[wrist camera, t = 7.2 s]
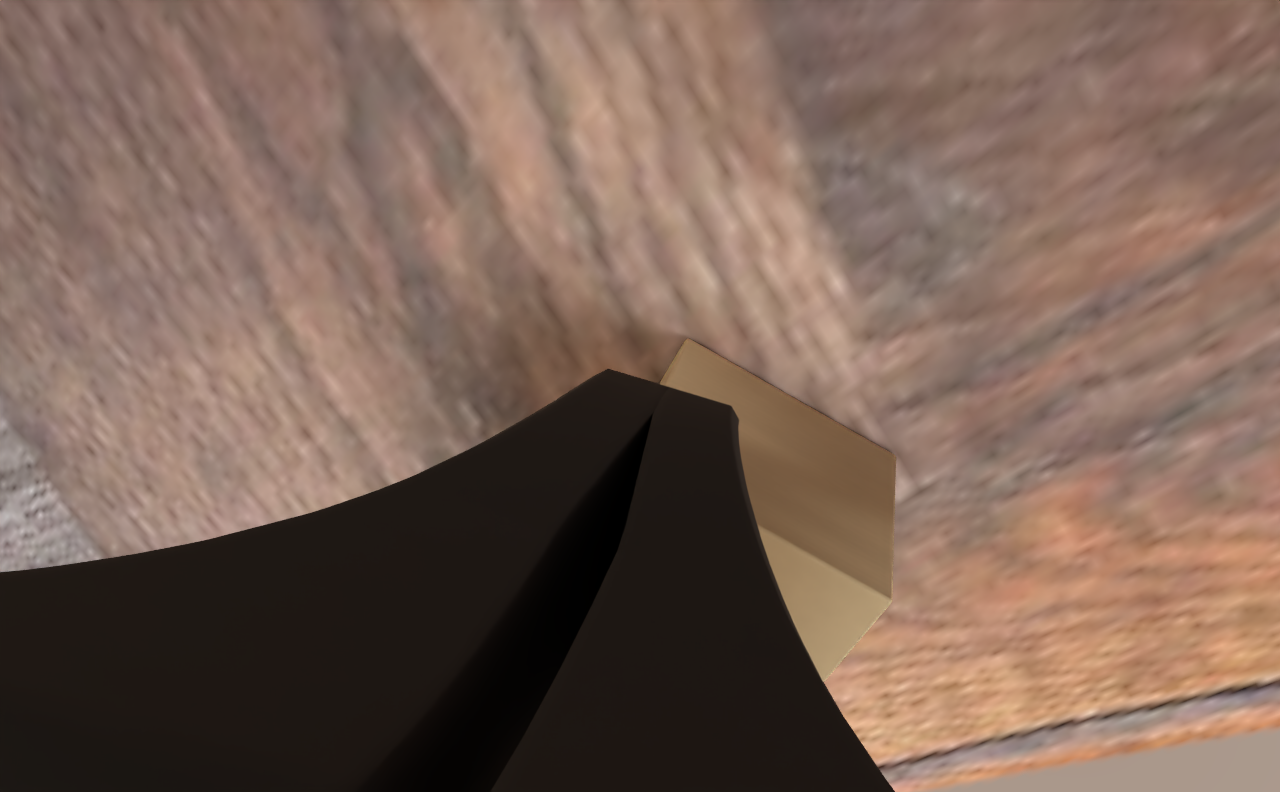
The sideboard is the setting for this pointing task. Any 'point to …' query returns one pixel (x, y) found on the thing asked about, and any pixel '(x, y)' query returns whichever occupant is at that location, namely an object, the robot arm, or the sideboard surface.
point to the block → (808, 503)
